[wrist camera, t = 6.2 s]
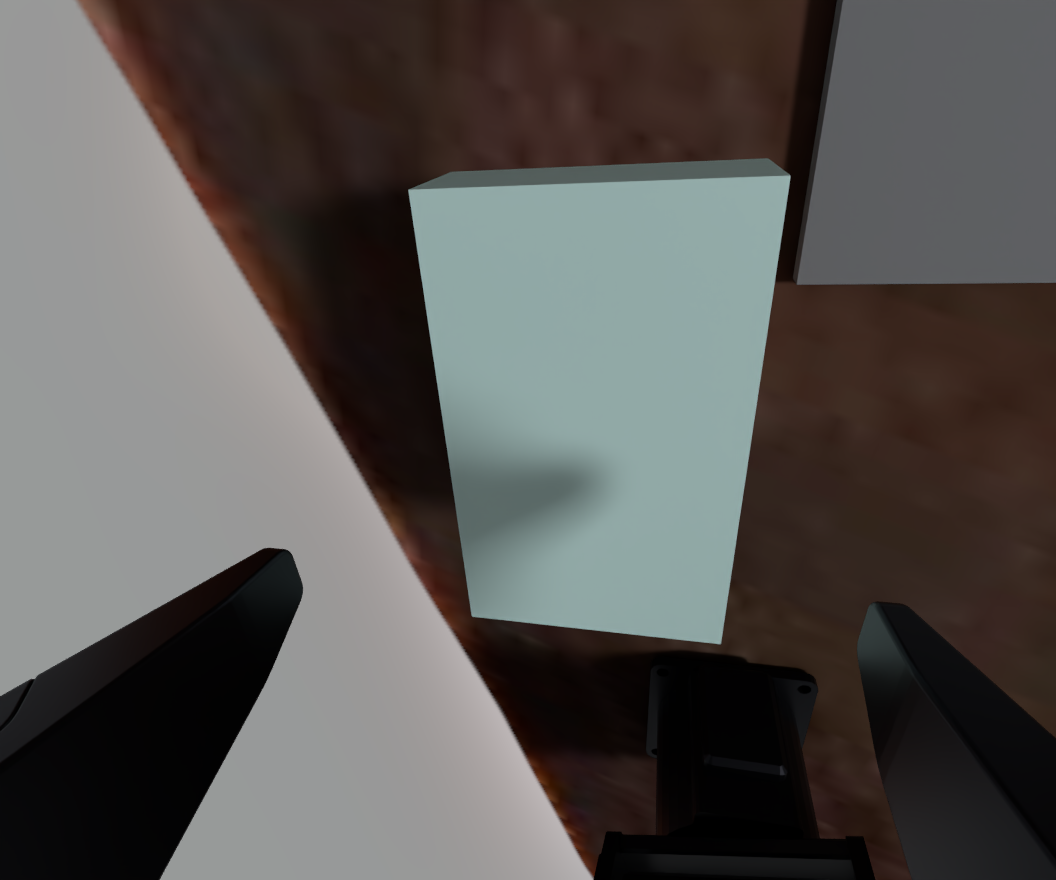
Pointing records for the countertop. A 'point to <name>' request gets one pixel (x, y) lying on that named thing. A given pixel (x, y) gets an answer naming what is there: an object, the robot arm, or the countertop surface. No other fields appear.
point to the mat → (934, 146)
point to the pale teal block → (600, 382)
